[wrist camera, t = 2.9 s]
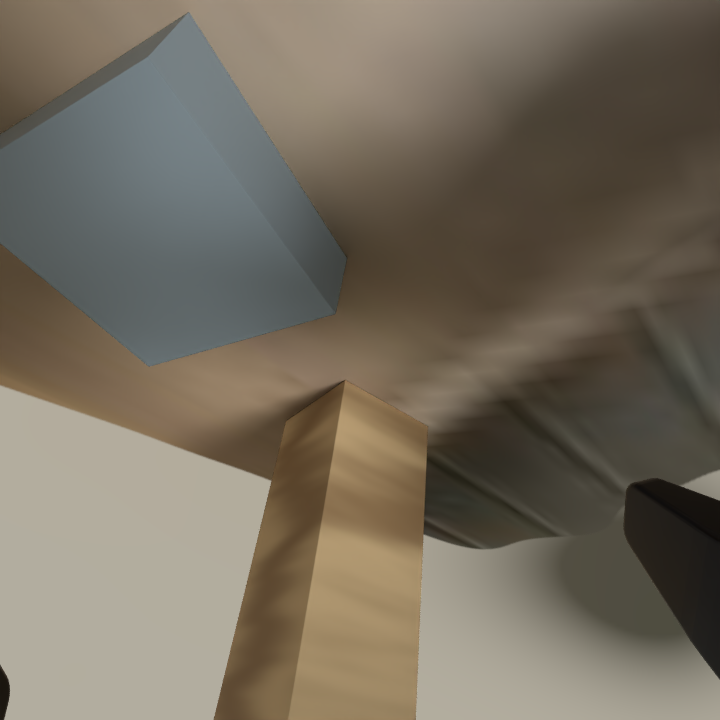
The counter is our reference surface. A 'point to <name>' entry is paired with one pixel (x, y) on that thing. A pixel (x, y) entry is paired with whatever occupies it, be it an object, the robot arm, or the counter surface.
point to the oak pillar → (335, 570)
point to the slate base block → (165, 205)
